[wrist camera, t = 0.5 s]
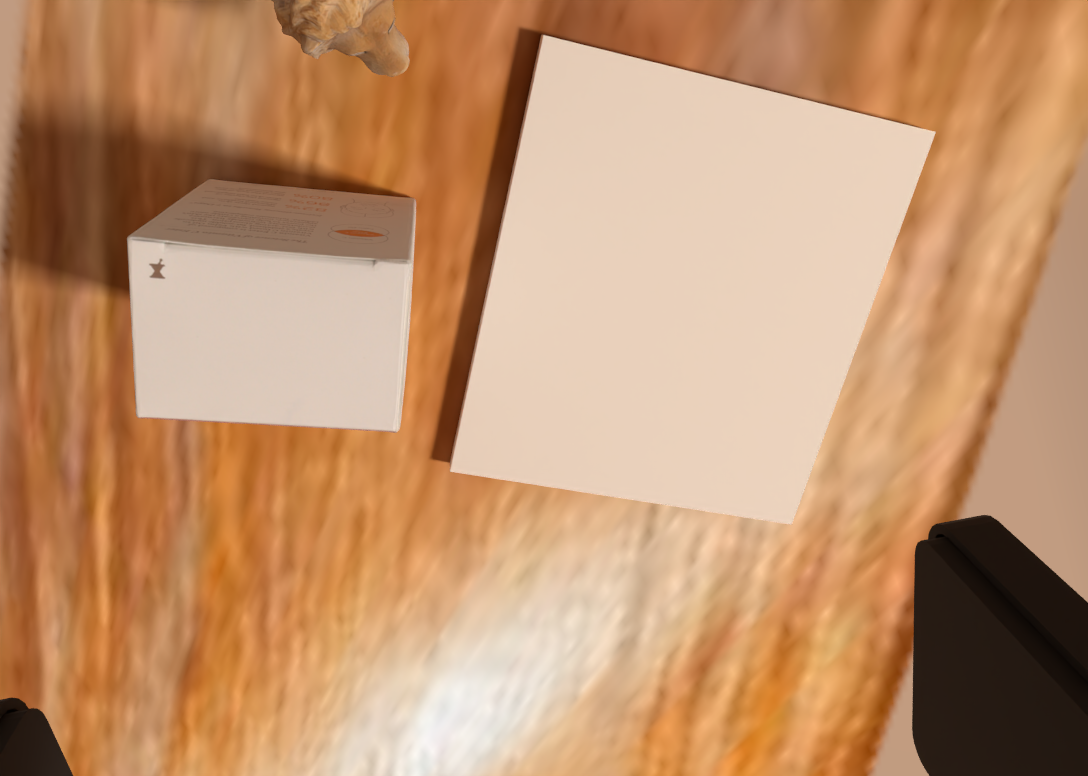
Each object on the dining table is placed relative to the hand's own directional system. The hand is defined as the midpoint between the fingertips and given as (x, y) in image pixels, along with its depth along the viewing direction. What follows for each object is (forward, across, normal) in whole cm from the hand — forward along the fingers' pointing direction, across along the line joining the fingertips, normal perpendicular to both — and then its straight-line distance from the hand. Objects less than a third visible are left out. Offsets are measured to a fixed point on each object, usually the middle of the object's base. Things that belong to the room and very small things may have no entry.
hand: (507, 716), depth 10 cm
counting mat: (+28, -8, +6) cm, 30 cm away
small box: (+29, +6, +1) cm, 29 cm away
